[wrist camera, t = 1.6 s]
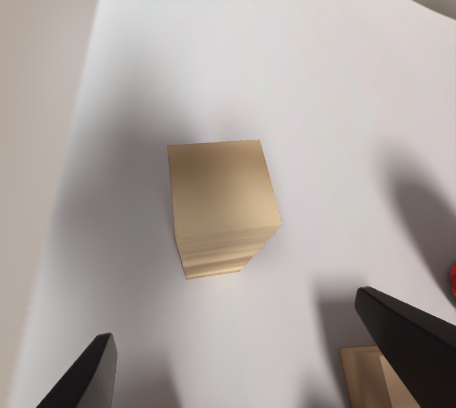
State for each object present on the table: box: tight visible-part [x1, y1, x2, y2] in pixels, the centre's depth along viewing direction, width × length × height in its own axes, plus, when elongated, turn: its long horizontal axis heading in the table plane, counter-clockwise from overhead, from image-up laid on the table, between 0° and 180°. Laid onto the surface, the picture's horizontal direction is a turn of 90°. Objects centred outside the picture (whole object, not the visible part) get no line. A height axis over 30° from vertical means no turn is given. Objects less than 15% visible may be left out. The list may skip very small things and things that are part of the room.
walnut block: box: [339, 345, 420, 408], centre depth 17 cm, size 5×5×5 cm
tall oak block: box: [168, 140, 282, 279], centre depth 17 cm, size 4×4×12 cm
